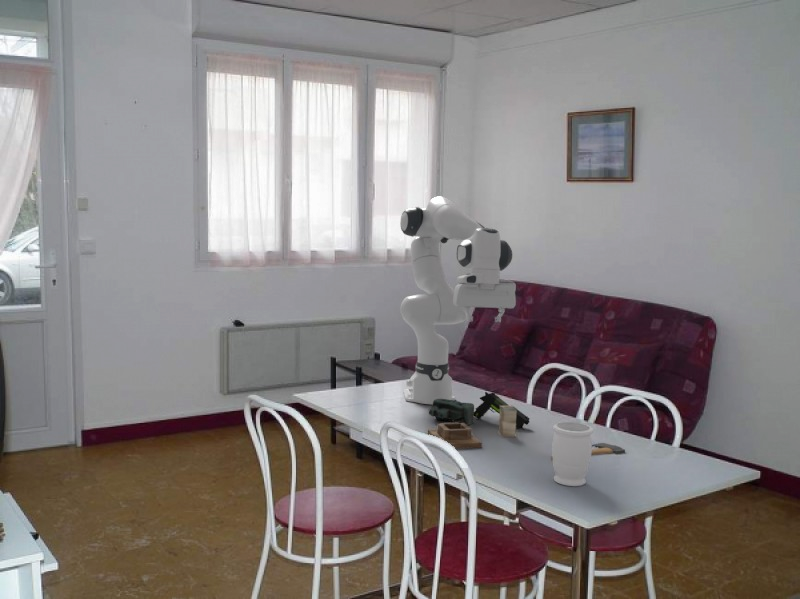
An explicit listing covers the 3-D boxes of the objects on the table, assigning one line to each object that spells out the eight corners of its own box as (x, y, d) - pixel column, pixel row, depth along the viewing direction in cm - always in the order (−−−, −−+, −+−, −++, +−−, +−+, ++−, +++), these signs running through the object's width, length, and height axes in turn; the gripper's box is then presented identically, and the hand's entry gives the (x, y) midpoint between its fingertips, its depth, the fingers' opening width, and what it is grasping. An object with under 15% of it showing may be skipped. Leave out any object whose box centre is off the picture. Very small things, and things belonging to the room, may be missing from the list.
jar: (594, 488, 219) (598, 432, 217) (555, 488, 218) (559, 432, 217) (582, 475, 230) (586, 421, 228) (545, 474, 229) (548, 421, 227)
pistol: (530, 429, 275) (532, 399, 273) (525, 431, 272) (527, 401, 271) (476, 417, 287) (477, 388, 286) (470, 419, 284) (472, 390, 283)
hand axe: (603, 440, 261) (627, 448, 253) (602, 445, 261) (626, 454, 253) (537, 450, 247) (560, 460, 239) (536, 456, 248) (559, 465, 239)
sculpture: (427, 412, 275) (471, 423, 272) (432, 390, 277) (477, 401, 275) (429, 421, 286) (471, 431, 283) (434, 400, 288) (477, 410, 286)
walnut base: (427, 434, 263) (428, 420, 263) (463, 432, 267) (464, 418, 266) (443, 449, 248) (444, 434, 248) (481, 447, 251) (482, 433, 251)
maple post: (498, 433, 268) (499, 405, 267) (510, 432, 269) (512, 405, 268) (503, 437, 264) (504, 409, 263) (515, 436, 265) (517, 408, 264)
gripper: (512, 279, 274) (510, 322, 274) (452, 277, 268) (450, 320, 269) (519, 279, 267) (518, 323, 268) (458, 277, 262) (456, 321, 263)
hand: (483, 321), depth 268 cm, fingers open, 8 cm apart
